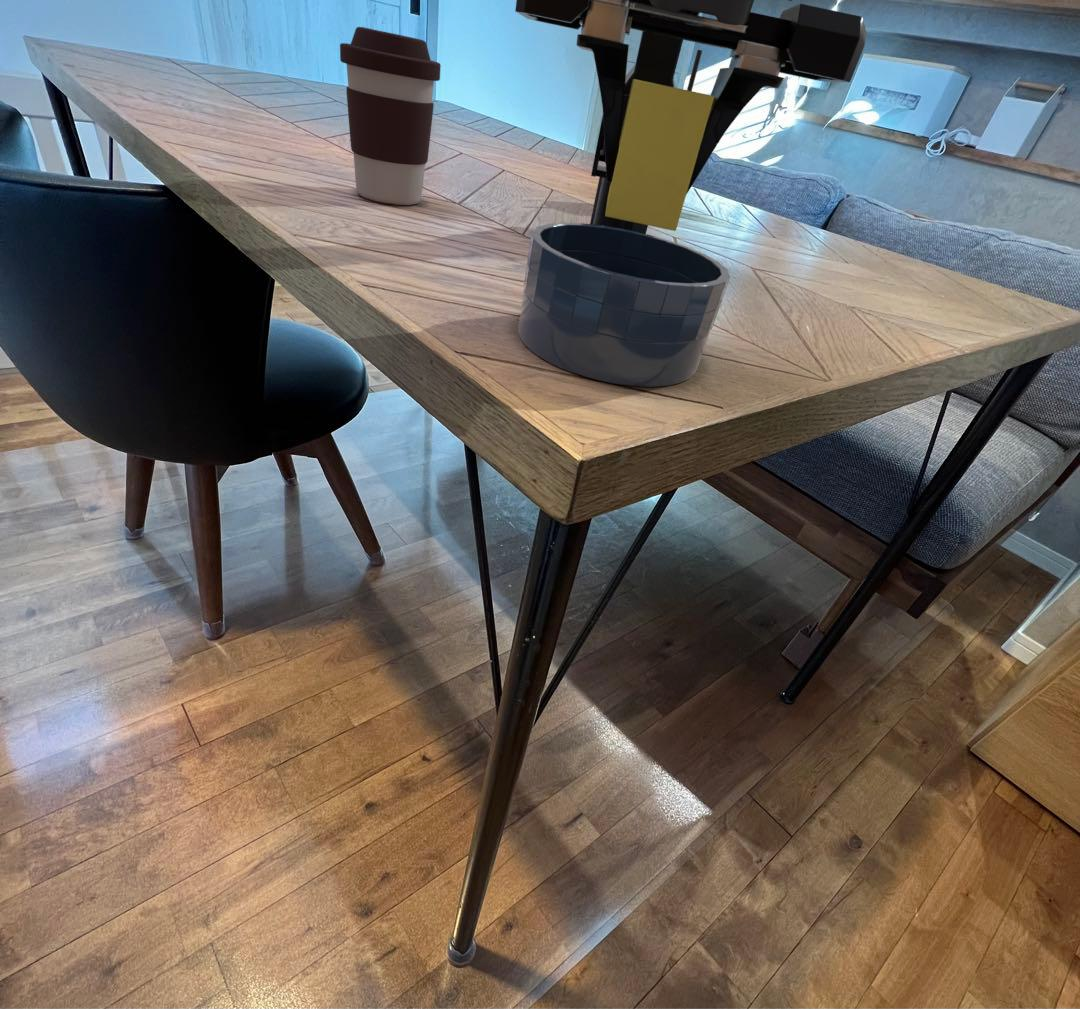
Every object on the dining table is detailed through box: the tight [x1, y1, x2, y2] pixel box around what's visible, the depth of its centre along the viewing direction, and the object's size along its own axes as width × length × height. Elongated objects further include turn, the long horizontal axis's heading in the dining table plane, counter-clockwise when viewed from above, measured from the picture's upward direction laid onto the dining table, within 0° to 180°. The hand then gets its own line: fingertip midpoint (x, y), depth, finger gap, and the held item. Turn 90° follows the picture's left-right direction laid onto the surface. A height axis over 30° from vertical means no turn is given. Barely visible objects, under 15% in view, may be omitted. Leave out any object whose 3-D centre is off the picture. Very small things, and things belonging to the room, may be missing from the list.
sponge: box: [605, 79, 714, 232], centre depth 37 cm, size 7×4×7 cm, turn 173°
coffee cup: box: [339, 26, 442, 206], centre depth 63 cm, size 10×10×15 cm
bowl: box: [517, 222, 731, 388], centre depth 41 cm, size 13×13×6 cm
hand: (644, 188), depth 38 cm, fingers closed on sponge, 4 cm apart
